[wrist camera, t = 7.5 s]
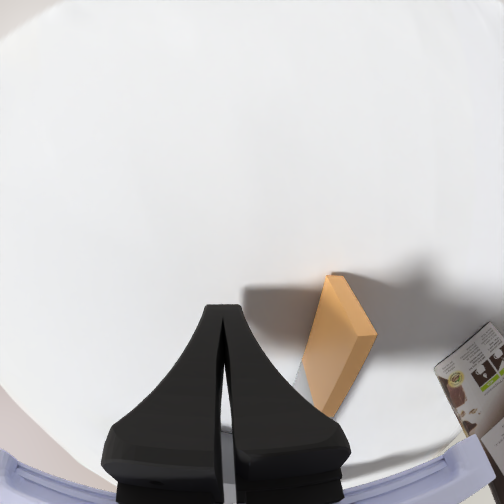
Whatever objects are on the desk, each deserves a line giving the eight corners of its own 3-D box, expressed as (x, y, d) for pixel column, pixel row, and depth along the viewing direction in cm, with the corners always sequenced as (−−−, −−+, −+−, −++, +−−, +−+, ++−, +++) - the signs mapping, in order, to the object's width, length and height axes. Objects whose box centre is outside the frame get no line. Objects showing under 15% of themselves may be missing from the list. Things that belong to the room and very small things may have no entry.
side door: (282, 442, 20) (289, 481, 17) (270, 443, 20) (276, 483, 16) (344, 275, 12) (380, 334, 9) (324, 275, 12) (355, 336, 9)
